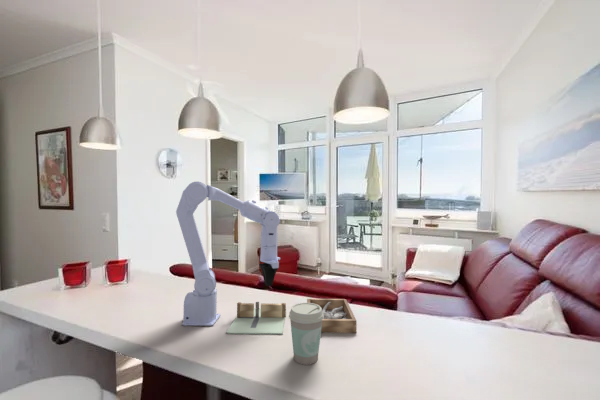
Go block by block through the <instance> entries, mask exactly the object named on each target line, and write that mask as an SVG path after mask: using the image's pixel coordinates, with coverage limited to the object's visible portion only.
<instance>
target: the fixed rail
mask: <svg viewBox="0 0 600 400" xmlns="http://www.w3.org/2000/svg"><path fill="white" fill-rule="evenodd" d="M254 308H256V318H259V308H260V302H259V301H256V302H254V303H253V302H252V303H249V302H246V303H245V302H241V301H240V302H239V301H238V302H237V303H236V316H237V318H241V317H253V316H254Z"/></svg>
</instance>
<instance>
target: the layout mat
mask: <svg viewBox="0 0 600 400" xmlns="http://www.w3.org/2000/svg"><path fill="white" fill-rule="evenodd" d="M285 318H286V317H284V318H283V317H261V307H259V318H256V307H254V316H253V317H241V318H237V315H236V316H235V318H234V319H233V321H232V323H231V325H230V326H229V328H228V330H227V331H226V334H227V335H283V334H284V333H283V332H284V326H285V320H286V319H285Z"/></svg>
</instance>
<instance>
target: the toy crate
mask: <svg viewBox="0 0 600 400" xmlns="http://www.w3.org/2000/svg"><path fill="white" fill-rule="evenodd" d="M328 302H331V303H329V304H330V305H328V306H327V308H326V310H325V311H327V310H328V311H332V310H333V309H335V308H340V307H341V306H343V308H342V309H341V310H340V311H343V312H344V313H347V315H346V316H345V318H341V319H323V320H322V328H321V333H333V334H334V333H338V334H339V333H340V334H341V333H343V334H344V333H346V334H349V333H350V334H357V319H356V317H355V315H354V313H353V311H352V308H351V306H350V304H349V301H348V300H347V299H345V298H307V299H306V303H313V304H317V305H319V306H320V307H321V308H322V310H323V308H324V307H325V305H326V304H327V303H328Z"/></svg>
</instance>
